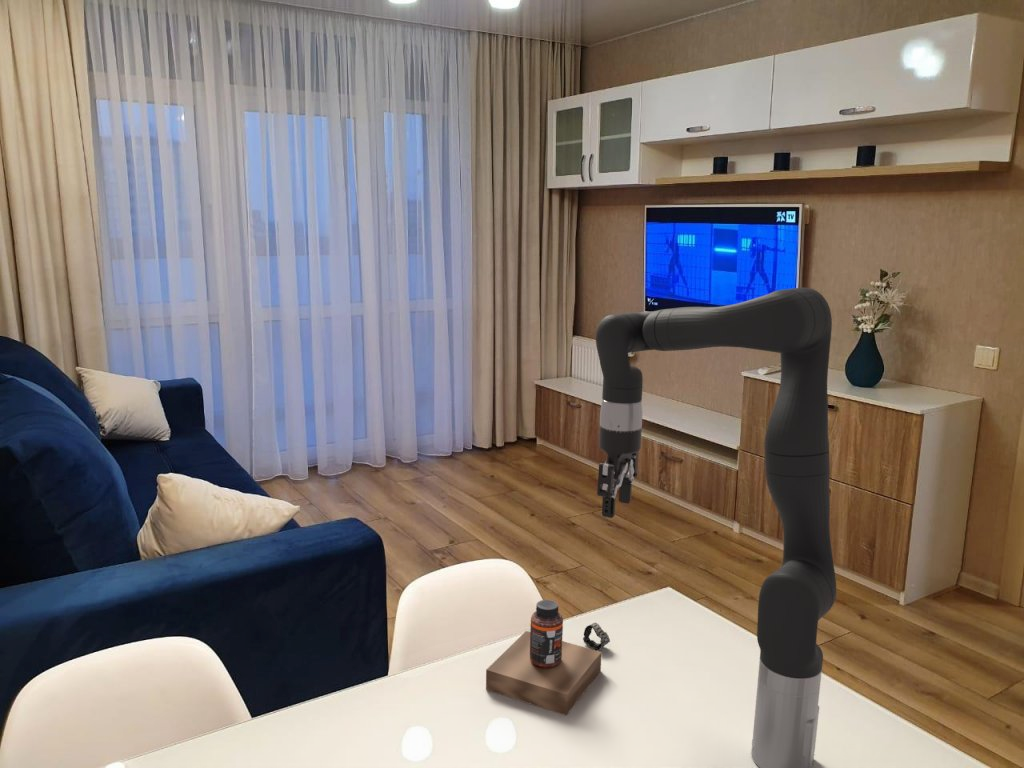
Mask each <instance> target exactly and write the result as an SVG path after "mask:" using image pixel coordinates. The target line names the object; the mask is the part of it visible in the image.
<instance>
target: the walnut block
mask: <svg viewBox="0 0 1024 768" xmlns="http://www.w3.org/2000/svg"><path fill="white" fill-rule="evenodd" d="M601 669H602V651H599V650H598V651H596V650H594V649H591V648H589V647H584V646H581V645H577V644H575V643H571V642H567V641H564V640H562V657H561V662H560V663H559V664H558V665H556V666H554V667H551V668H544V667H539V666H536V665H535V664H533V663H532V662H531V660H530V631H527V630H525V631H524V633H522V634H521V635H520V636H519V637H518V638H517V639H516V640H515V641H514V642H513V643H512V644H511V645H510V646H509V647H508V648H507V649H506V650H505V651H504V652H503V653H502V654H501V655H499V656H498V657H497V658H496V659H495V660H494V662H493V663H491V664H490V665H489V666H488V668H486V669H485V670H486V671H485V690H487V691H490V692H492V693H496V694H499V695H502V696H505V697H508V698H511V699H514V700H517V701H520V702H524V703H527V704H530V705H532V706H537V707H539V708H542V709H545V710H549V711H552V712H555V713H558V714H561V715H564V716H567V715H568V714H569V712H570V711H572V708H574V706H575V705H576V704H577V702H578V701H579V700H580V698H581V697H582V696H583V694H584V693H585V692H586V691H587V689H589V687H590V685H591V684H592V683H593V682H594V681H595V679H596V678H597V677H598V676H599V674H600V673H601Z"/></svg>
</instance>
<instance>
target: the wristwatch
mask: <svg viewBox="0 0 1024 768" xmlns="http://www.w3.org/2000/svg"><path fill="white" fill-rule="evenodd" d="M592 630H593V631H594V633H595V634H596V637H598V638H599V639H600V641H599V642H600V643H599V642H596V641H595V640H592V639H591V638H590V635H591V634H592ZM582 640H583V643H584V644H585V645H586V646H588V648H589V649H593V650H596V651H599V650H601V649H602V648H603V647H605V646H606V645H608V644H609V643H610V642H611V639H610V636H609V635H608V632H606V631H604V630H603V629H602V626H600V624H599V623H597V622H593V623H591V624H589V625H586V627H584V632H583V638H582Z"/></svg>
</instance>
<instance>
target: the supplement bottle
mask: <svg viewBox="0 0 1024 768" xmlns="http://www.w3.org/2000/svg"><path fill="white" fill-rule="evenodd" d="M563 629H564V619H563V616H562V614H561V613H560V612H559V604H558V602H557V601H555V600H552V599H542V600H538V601H537V602H536V608H535V611H534V612H533V613H532V615H531V617H530V630H529V632H530V660H531V662H532V663H533V664H535V665H536V666H539V667H544V668H551V667H554V666H556V665H558V664H559V663H560V662H561V657H562V641H563V636H564V635H563V634H564V633H563Z"/></svg>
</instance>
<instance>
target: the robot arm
mask: <svg viewBox="0 0 1024 768" xmlns="http://www.w3.org/2000/svg"><path fill="white" fill-rule="evenodd" d="M832 324H833V319H832V312H831V308H830V306H829V303H828V302H827V300H826V298H825V297H824V296H823V294H821V292H819V291H817V290H816V289H813V288H810V287H793V288H786V289H779V290H774V291H772V292H769V293H767V294H765V295H761V296H758V297H755V298H752V299H748V300H746V301H742V302H737V303H733V304H728V305H724V306H723V305H722V306H685V307H684V306H683V307H673V308H664V309H659V310H654V311H653V310H652V311H651V310H650V311H635V312H634V311H633V312H623V313H616V314H609V315H607V316H604V317H603V318H602V319H601V320H600V322H599V324H598V326H597V329H596V331H595V345H596V346H595V347H596V350H597V354H598V360H599V365H600V368H601V373H602V378H603V379H602V393H601V395H602V396H601V406H600V412H599V433H598V435H599V436H598V447H599V449H600V450H601V451H603V452H605V453H606V455H607V456H606V460H605V462H600V463H599V465H598V477H597V488H596V489H597V493H596V495H597V496H598V497H602V500H601V502H602V503H601V505H602V506H601V515H602V516H603V517H605V518H610V519H613V518H614V517H615V516H616V496H617V492H618V501H619V502H620V503H622V504H628V505H629V503H631V501H632V490H633V488H632V487H633V486H632V485H633V484H634V483H635V478H637V476H638V465H639V464H638V461H639V458H638V457H639V451H640V450H641V447H642V432H643V431H642V427H643V405H642V403H643V400H642V399H643V386H644V385H643V382H644V381H643V380H644V379H643V372H642V370H641V369H640V368H638V367H636V366H635V365H630V358H629V354H630V353H638V352H644V351H645V352H646V351H652V350H653V351H658V352H672V351H689V350H691V351H692V350H700V349H701V350H702V349H707V348H718V347H720V348H722V347H727V348H728V347H729V348H743V349H744V348H745V349H751V350H757V351H764V352H772V353H778V354H780V369H781V370H780V384H779V388H778V391H777V392H778V393H777V395H776V399H775V403H774V405H773V407H772V410H771V414H770V417H769V419H768V422H767V423H768V424H767V427H766V431H765V437H764V465H765V466H764V468H765V469H764V470H765V478H766V479H765V480H766V484H767V488H768V491H769V494H770V496H771V499H772V501H773V504H774V505H775V508H776V510H777V512H778V515H779V517H780V521H781V525H782V526H781V527H782V535H783V549H782V550H783V552H782V563H781V566H780V567H779V568H778V569H777V570H775V571H774V572H772V573H771V574H770V575H768V576H767V577H766V578H765V579H764V580H763V582H762V584H761V588H760V591H759V593H758V594H759V596H758V602H757V604H758V605H757V625H756V626H757V628H756V639H757V644H758V647H759V650H760V652H759V653H760V654H759V663H758V672H757V673H758V676H757V688H756V696H755V697H756V699H755V709H754V718H753V719H754V720H753V729H752V740H751V758H752V760H753V762H754V763H755V764H756V766H758V767H759V768H812V767H813V763H814V759H815V751H816V741H817V732H818V731H817V730H818V723H819V713H820V706H819V699H820V691H821V690H820V689H821V683H822V681H821V680H822V671H823V663H824V662H823V661H824V653H823V650H822V649H821V647H820V646H819V645H818V644H817V635H818V625H819V621H820V620H821V619H822V618H823V617H824V616H826V614H827V613H828V612H829V611H830V610H831V609H832V607H833V606H834V604H835V601H836V598H837V579H836V578H837V577H836V572H835V565H834V558H833V557H834V556H833V550H832V544H831V543H832V542H831V541H832V540H831V529H830V528H831V527H830V523H831V522H830V520H831V519H830V518H831V517H830V516H831V512H830V510H831V503H830V501H831V500H830V499H831V498H830V495H831V494H830V493H831V492H830V480H831V479H830V477H831V476H830V475H831V473H830V472H831V471H830V470H831V468H830V462H831V459H830V440H829V401H828V399H829V396H828V375H829V374H828V373H829V365H830V364H829V360H830V351H831V340H832V326H833V325H832Z"/></svg>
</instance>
